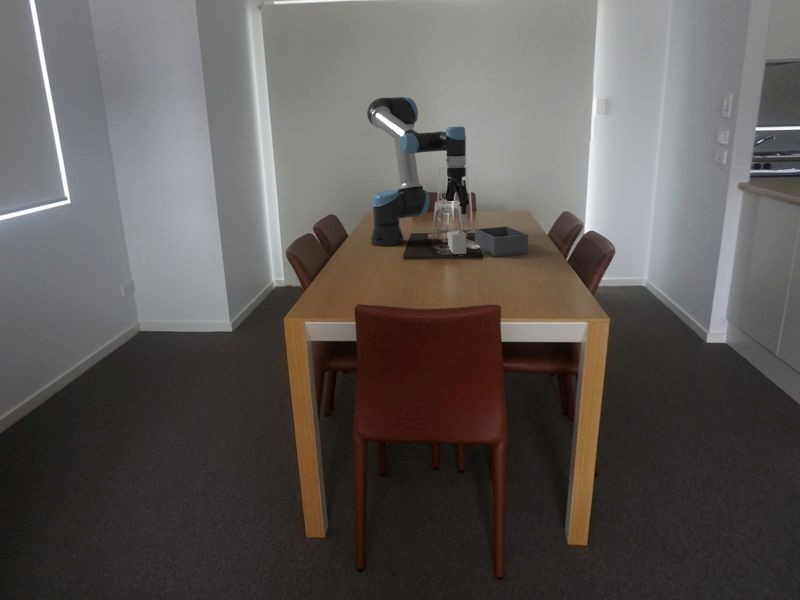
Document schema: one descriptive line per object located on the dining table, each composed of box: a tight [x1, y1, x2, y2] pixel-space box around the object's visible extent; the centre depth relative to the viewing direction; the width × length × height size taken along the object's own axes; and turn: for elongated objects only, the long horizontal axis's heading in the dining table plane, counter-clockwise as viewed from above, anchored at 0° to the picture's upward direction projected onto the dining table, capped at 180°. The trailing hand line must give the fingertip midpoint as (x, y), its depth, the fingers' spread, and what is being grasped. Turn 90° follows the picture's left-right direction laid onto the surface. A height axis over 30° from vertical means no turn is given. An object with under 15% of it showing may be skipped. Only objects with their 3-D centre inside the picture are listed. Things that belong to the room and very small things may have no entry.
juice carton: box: [446, 229, 467, 255], centre depth 249 cm, size 6×6×10 cm
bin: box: [474, 225, 529, 258], centre depth 252 cm, size 20×15×8 cm
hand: (456, 219), depth 245 cm, fingers open, 13 cm apart
